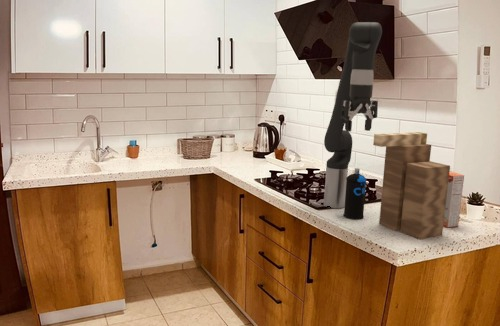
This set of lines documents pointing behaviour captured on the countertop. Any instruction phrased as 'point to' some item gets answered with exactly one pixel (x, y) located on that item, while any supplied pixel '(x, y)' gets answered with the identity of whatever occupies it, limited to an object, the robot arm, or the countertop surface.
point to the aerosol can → (355, 195)
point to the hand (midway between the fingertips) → (358, 130)
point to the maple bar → (400, 139)
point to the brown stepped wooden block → (413, 191)
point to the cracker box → (453, 200)
